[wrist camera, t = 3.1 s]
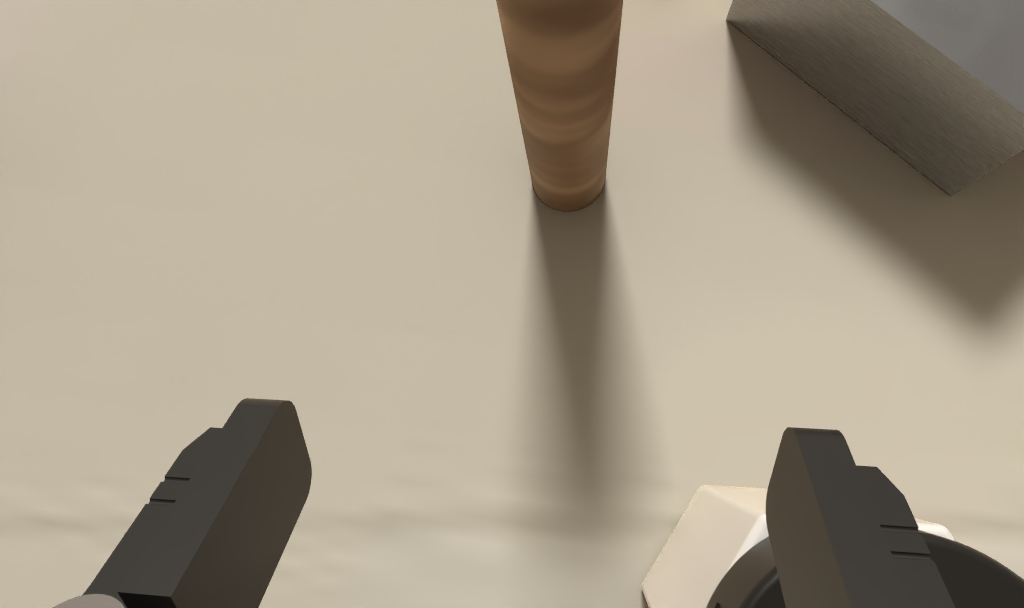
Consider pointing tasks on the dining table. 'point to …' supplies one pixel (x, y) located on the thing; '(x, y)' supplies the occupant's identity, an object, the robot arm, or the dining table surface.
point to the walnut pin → (564, 91)
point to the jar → (752, 570)
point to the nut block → (909, 73)
